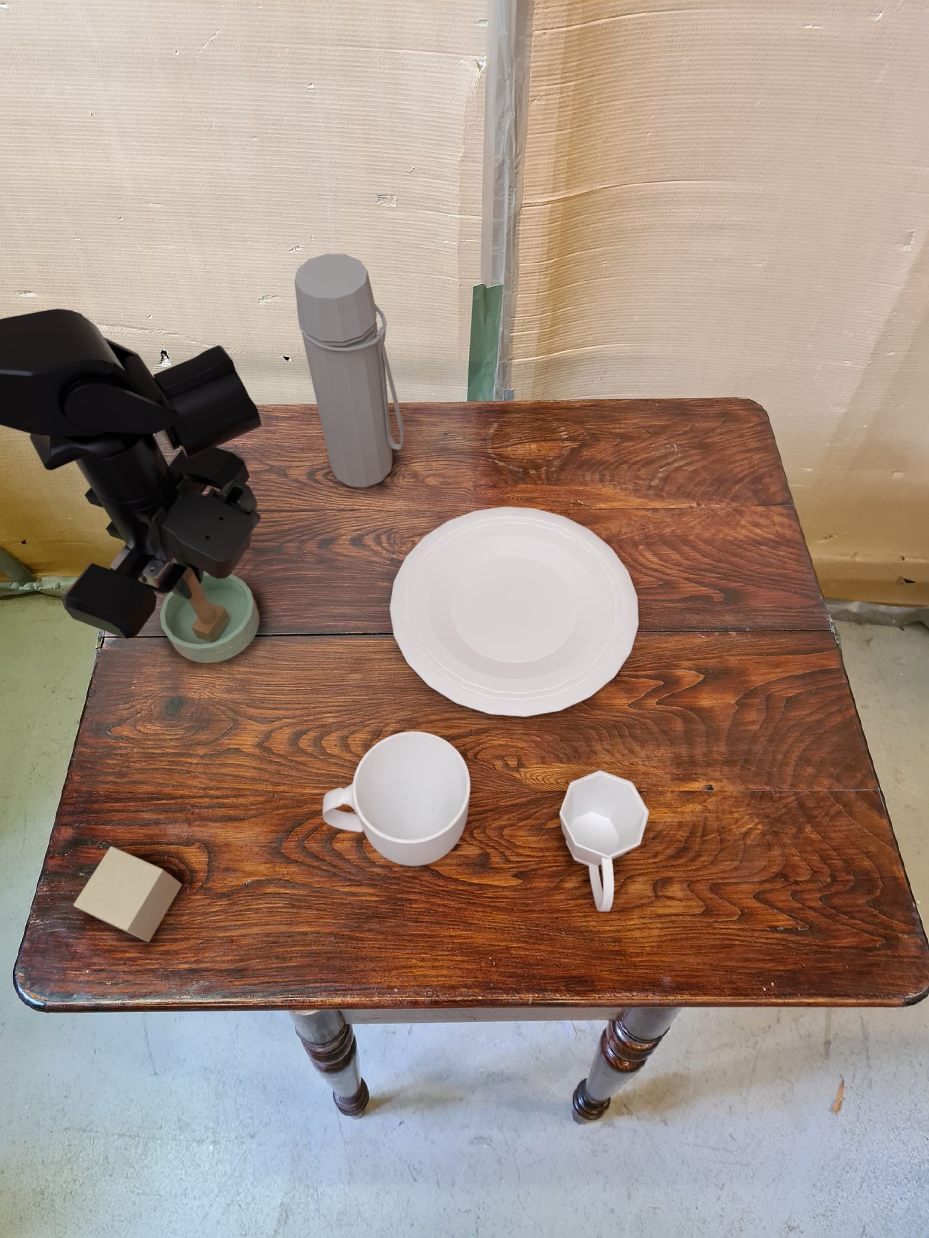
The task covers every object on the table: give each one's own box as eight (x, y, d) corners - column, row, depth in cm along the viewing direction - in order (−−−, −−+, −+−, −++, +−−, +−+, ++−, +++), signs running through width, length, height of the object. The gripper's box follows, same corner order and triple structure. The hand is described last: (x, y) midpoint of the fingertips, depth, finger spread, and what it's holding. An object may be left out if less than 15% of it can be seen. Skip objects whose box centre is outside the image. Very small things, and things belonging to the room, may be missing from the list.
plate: (578, 767, 72) (581, 759, 71) (344, 658, 78) (342, 649, 77) (670, 568, 84) (674, 557, 82) (460, 486, 90) (460, 475, 89)
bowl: (152, 646, 79) (141, 630, 77) (201, 576, 84) (192, 559, 81) (230, 675, 78) (222, 661, 75) (275, 603, 82) (269, 586, 79)
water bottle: (319, 485, 90) (274, 293, 69) (346, 437, 94) (310, 242, 73) (395, 504, 89) (372, 314, 68) (419, 454, 93) (404, 260, 71)
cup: (626, 802, 71) (643, 769, 64) (640, 920, 65) (660, 898, 59) (547, 803, 71) (556, 770, 64) (555, 920, 65) (565, 898, 59)
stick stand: (97, 918, 66) (72, 905, 61) (133, 861, 68) (110, 845, 64) (149, 942, 65) (126, 930, 60) (182, 884, 67) (163, 869, 63)
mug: (467, 780, 72) (466, 726, 62) (473, 880, 67) (474, 839, 57) (337, 788, 72) (315, 735, 61) (335, 889, 67) (310, 849, 57)
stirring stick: (196, 637, 79) (164, 583, 70) (213, 612, 80) (184, 556, 72) (213, 644, 78) (183, 590, 70) (230, 618, 80) (203, 563, 72)
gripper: (149, 604, 54) (214, 703, 67) (283, 419, 63) (316, 539, 76) (16, 555, 56) (104, 660, 69) (163, 383, 65) (216, 506, 78)
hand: (191, 588), depth 73 cm, fingers closed on stirring stick, 2 cm apart
